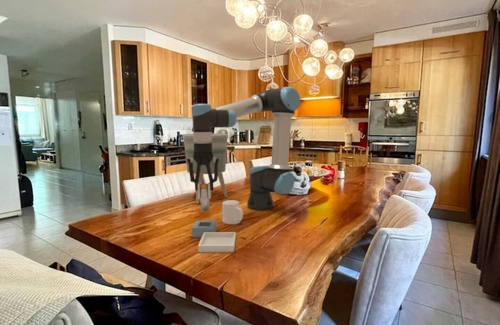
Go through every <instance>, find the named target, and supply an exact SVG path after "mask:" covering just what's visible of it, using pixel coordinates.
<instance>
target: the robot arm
mask: <svg viewBox="0 0 500 325" xmlns="http://www.w3.org/2000/svg"><path fill="white" fill-rule="evenodd" d="M300 105H301V95H300V93H299V92H298V90H297V89H296V88H294V87H293V86H283V87H278V88H277V87H276V88H270V89H267V90H264V91H261V92H259V93H256V94H253V95H251V96H250V97H249V98H245V99H242V100H238V101H235V102H231V103H228V104H225V105H220V106H217V107H214V108H212V105H211V104H209V103H194V104H193V105H192V109H191V110H192V111H191V117H192V134H193V141H194V142H195V143H194V155H193V157H191V158H188V159H187V162H188V164H189V172H190V173H189V179H190V182H191V183H194V188H195V189H194V190H195V192H196V191H198V199H200V184H201V182H199V176H200V170H201V165H206V168H207V172H208V174H207V176H208V181H209V182H208V183H207V184H208V199H209V200H210V199H211V198H212V191H213V190H214V183H216V182H218V180H219V178H218V162H219V160H220V158H217V157H214V155H213V153H212V143H211V141H212V133H213V132H212V129H213V128H233V127H234V126H235V125H236V123H237V119H238V118H241V117H243V116H244V117H245V116H246V115H249V114H254V113H255V114H258V113H259V114H260V113H263V112H264V113H265V112H271V115H272V116H273V118H274V120H273V135H272V148H271V149H272V151H271V163H270V164H269V165H261V166H260V165H259V166H253V167H251V168H250V170H249V171H250V173H249V186H250V187H249V188H250V193H249V196H248V199H247V201H246V206H247V208H248V209H249V210H254V211H268V210H271V209H273V208H274V207H275V202H274V200H273V196H272V192H273V193H275V194H278V195H285V194H288V193H289V192H291V190H293V187H294V185H295V182H296V181H295V175H294V174H293V173H292V172H291V169H292V168H291V166H290V165H289V156H290V143H291V142H290V140H291V127H292V126H291V125H292V118H293V117H294V116H295V114H296V110H298V109H299V108H300V107H301V106H300ZM193 159H194V160H195V161H196V163H197V170H196V174H194V170H193ZM212 159H213V160H214V162H215V164H214V174H212V172H211V167H210V162H211V161H212Z"/></svg>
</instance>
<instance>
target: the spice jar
mask: <svg viewBox="0 0 500 325" xmlns="http://www.w3.org/2000/svg"><path fill="white" fill-rule="evenodd" d="M199 202H200V211H201V212H208V211H210V199H208V183H202V184H200V201H199Z"/></svg>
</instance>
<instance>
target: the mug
mask: <svg viewBox="0 0 500 325" xmlns="http://www.w3.org/2000/svg"><path fill="white" fill-rule="evenodd" d="M221 208H222V209H221V212H222V220H221V221H222V222H223V223H224V224H226V225H238V224H240V223H241V221H242V220H243V217H244V212H243V208H241V206H240V201H239V200H235V199H234V200H232V199H230V200H229V199H227V200H224V201H222V207H221Z"/></svg>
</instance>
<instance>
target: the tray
mask: <svg viewBox="0 0 500 325" xmlns="http://www.w3.org/2000/svg"><path fill="white" fill-rule="evenodd" d="M236 239H237V232H236V231H216V232H204V233H203V236H202V237H200V241H199V242H198V245H197V253H235V248H236V247H235V246H236Z"/></svg>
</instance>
